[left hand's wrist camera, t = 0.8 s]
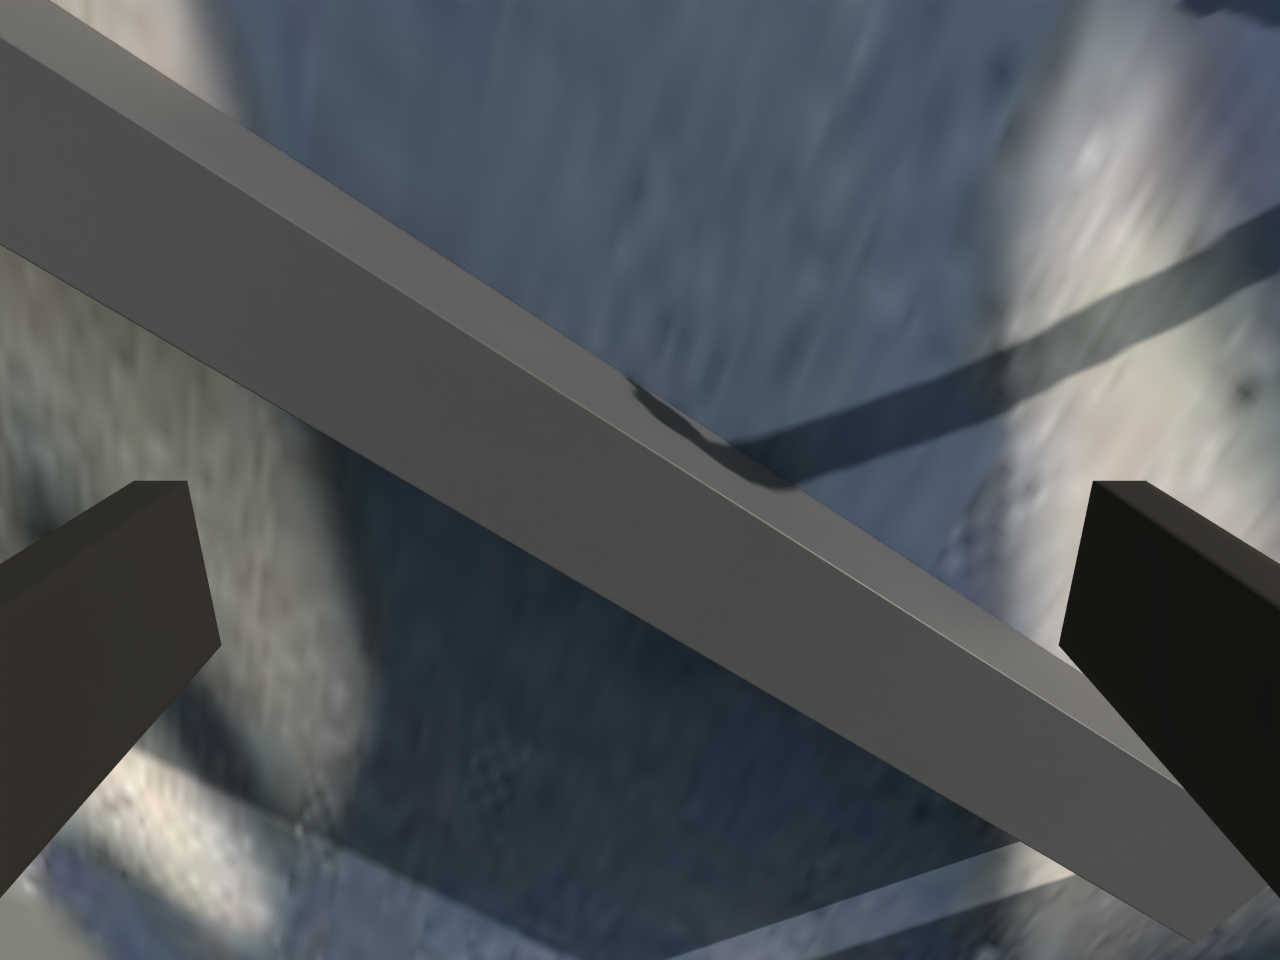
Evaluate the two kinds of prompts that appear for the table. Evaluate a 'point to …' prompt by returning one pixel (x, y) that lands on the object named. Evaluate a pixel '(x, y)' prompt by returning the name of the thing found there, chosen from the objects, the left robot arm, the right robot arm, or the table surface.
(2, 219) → the beam
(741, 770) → the table surface
